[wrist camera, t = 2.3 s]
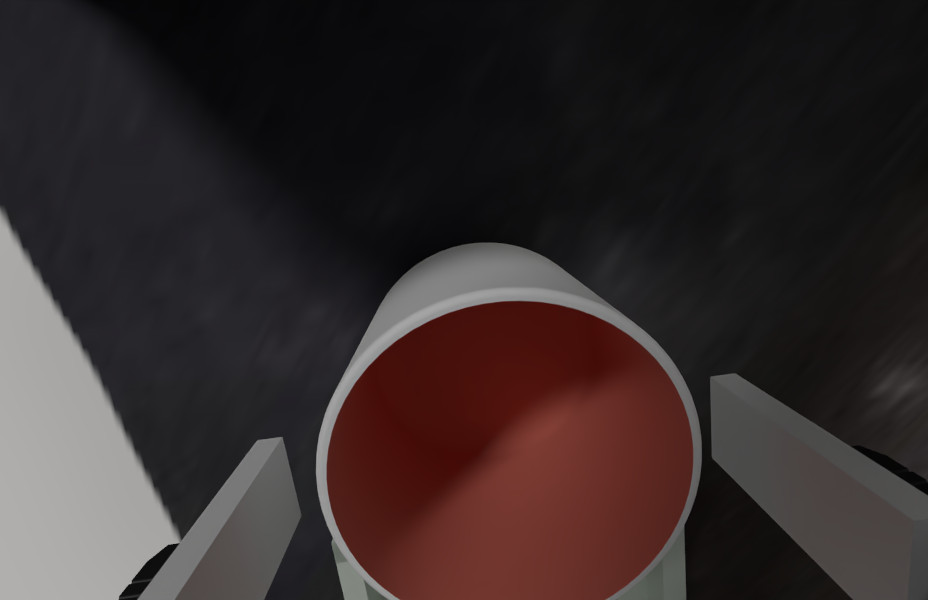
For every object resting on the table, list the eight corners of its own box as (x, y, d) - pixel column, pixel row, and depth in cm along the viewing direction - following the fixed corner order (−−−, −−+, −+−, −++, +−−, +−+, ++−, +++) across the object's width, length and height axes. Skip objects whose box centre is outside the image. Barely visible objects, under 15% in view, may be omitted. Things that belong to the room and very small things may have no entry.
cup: (590, 229, 21) (715, 272, 11) (592, 438, 23) (696, 620, 14) (359, 247, 21) (284, 305, 11) (384, 455, 23) (341, 652, 14)
